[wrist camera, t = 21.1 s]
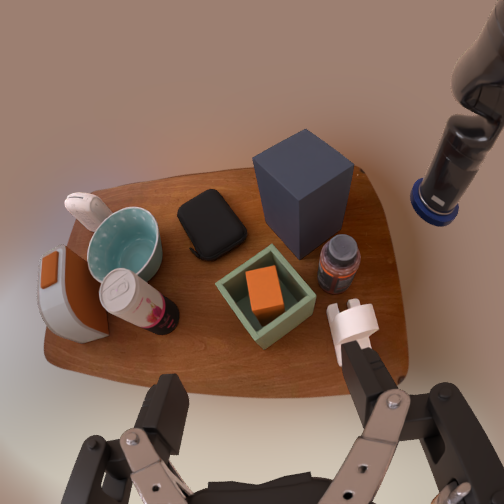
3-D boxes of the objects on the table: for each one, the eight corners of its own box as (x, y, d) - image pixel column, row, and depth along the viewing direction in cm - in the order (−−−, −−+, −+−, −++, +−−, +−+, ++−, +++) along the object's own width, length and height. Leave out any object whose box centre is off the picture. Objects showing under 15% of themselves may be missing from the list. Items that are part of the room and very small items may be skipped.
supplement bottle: (358, 276, 45) (373, 245, 35) (336, 302, 43) (348, 277, 33) (331, 255, 47) (339, 220, 37) (309, 280, 46) (312, 249, 36)
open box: (277, 271, 48) (272, 243, 39) (312, 314, 43) (316, 295, 34) (230, 303, 46) (214, 283, 37) (264, 350, 42) (254, 341, 33)
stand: (306, 195, 54) (305, 128, 39) (341, 229, 49) (354, 164, 34) (265, 222, 52) (251, 157, 37) (299, 260, 48) (298, 200, 33)
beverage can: (185, 325, 46) (142, 299, 32) (154, 341, 45) (103, 321, 32) (172, 293, 49) (130, 258, 35) (143, 309, 48) (94, 280, 35)
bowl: (187, 275, 50) (169, 255, 42) (119, 313, 48) (94, 300, 41) (162, 216, 57) (145, 192, 50) (104, 252, 56) (82, 233, 48)
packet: (279, 289, 45) (275, 264, 36) (286, 321, 42) (284, 304, 34) (255, 295, 45) (245, 271, 36) (261, 326, 43) (252, 310, 34)
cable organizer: (355, 301, 43) (370, 279, 34) (370, 358, 38) (390, 351, 29) (325, 308, 43) (332, 288, 34) (338, 367, 39) (351, 363, 30)
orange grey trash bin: (76, 281, 53) (36, 254, 41) (103, 269, 53) (64, 238, 42) (79, 344, 46) (32, 327, 34) (109, 335, 47) (62, 316, 35)
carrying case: (172, 217, 56) (203, 271, 50) (167, 209, 54) (197, 264, 47) (216, 191, 58) (253, 240, 51) (212, 182, 55) (250, 231, 48)
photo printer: (124, 221, 58) (95, 188, 48) (116, 237, 57) (85, 206, 46) (95, 217, 61) (67, 187, 50) (88, 232, 59) (57, 203, 48)
